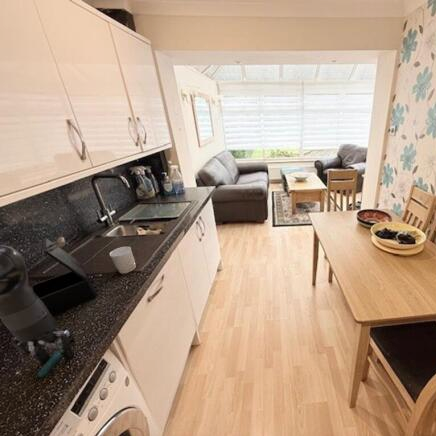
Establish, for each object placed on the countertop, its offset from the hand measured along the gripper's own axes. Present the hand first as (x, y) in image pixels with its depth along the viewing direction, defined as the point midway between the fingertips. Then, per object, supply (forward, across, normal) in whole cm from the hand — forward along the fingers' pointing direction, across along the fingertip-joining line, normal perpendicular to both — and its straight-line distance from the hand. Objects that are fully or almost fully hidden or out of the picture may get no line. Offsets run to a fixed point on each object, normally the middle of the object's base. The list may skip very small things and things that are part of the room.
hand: (58, 358), depth 69 cm
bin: (+1, -15, +26) cm, 30 cm away
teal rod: (+1, 0, 0) cm, 1 cm away
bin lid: (-16, -12, +29) cm, 35 cm away
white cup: (+1, -2, +44) cm, 44 cm away
